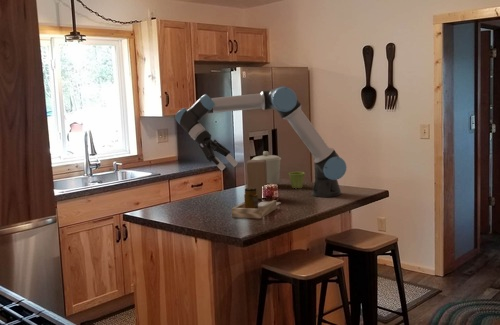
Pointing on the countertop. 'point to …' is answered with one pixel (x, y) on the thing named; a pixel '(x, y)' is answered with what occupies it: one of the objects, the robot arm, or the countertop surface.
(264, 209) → the open wooden frame
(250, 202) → the condiment
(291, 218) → the countertop surface
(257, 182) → the block
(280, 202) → the trivet
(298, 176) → the plant pot
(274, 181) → the canister
